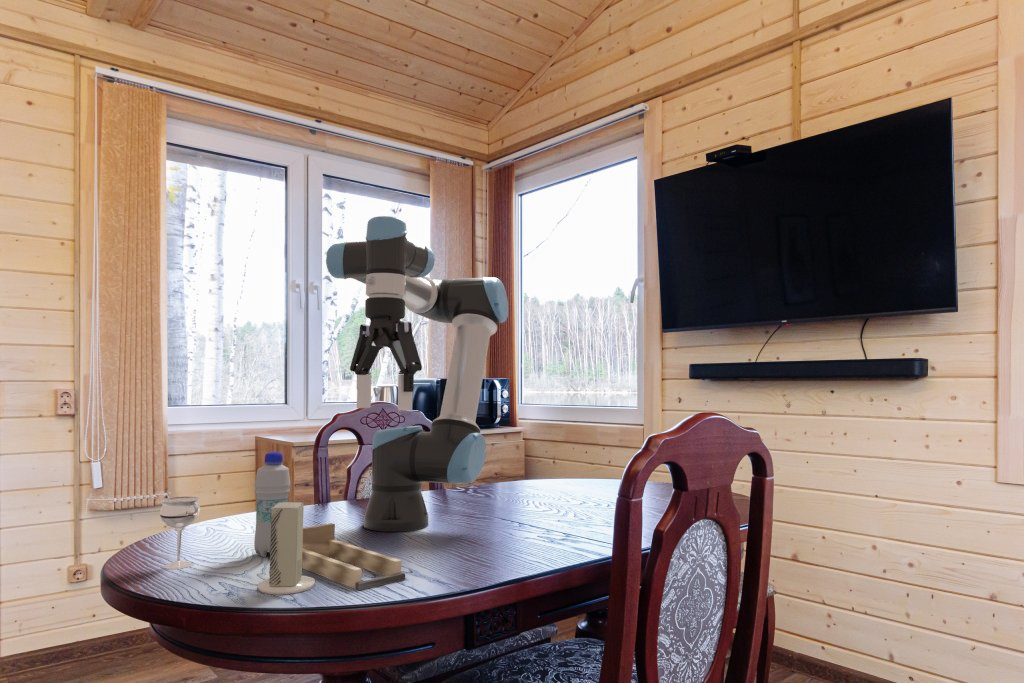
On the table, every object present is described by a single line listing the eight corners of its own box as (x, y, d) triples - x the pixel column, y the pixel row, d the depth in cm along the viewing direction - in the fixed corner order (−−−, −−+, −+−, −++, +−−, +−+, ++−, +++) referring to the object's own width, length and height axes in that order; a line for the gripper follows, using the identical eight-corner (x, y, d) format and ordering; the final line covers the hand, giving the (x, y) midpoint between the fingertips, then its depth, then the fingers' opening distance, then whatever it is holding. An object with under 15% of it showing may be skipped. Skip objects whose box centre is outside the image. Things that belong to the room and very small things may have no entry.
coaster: (248, 586, 116) (248, 582, 116) (298, 575, 122) (298, 572, 122) (273, 598, 109) (273, 594, 110) (325, 586, 116) (325, 582, 116)
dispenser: (287, 562, 131) (288, 529, 131) (331, 554, 138) (331, 523, 138) (359, 590, 114) (359, 552, 114) (405, 579, 120) (405, 543, 121)
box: (276, 578, 118) (278, 501, 119) (302, 578, 118) (304, 501, 119) (268, 588, 113) (270, 507, 114) (295, 587, 113) (297, 507, 114)
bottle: (296, 552, 139) (298, 450, 140) (274, 560, 133) (276, 454, 134) (268, 549, 141) (270, 449, 142) (245, 557, 135) (248, 452, 136)
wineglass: (201, 567, 127) (203, 500, 128) (159, 572, 124) (162, 503, 125) (195, 559, 133) (197, 495, 134) (155, 563, 130) (158, 498, 130)
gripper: (333, 301, 140) (331, 407, 139) (408, 290, 123) (406, 411, 122) (365, 304, 146) (364, 406, 144) (441, 294, 128) (440, 410, 127)
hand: (383, 409), depth 133 cm, fingers open, 13 cm apart
